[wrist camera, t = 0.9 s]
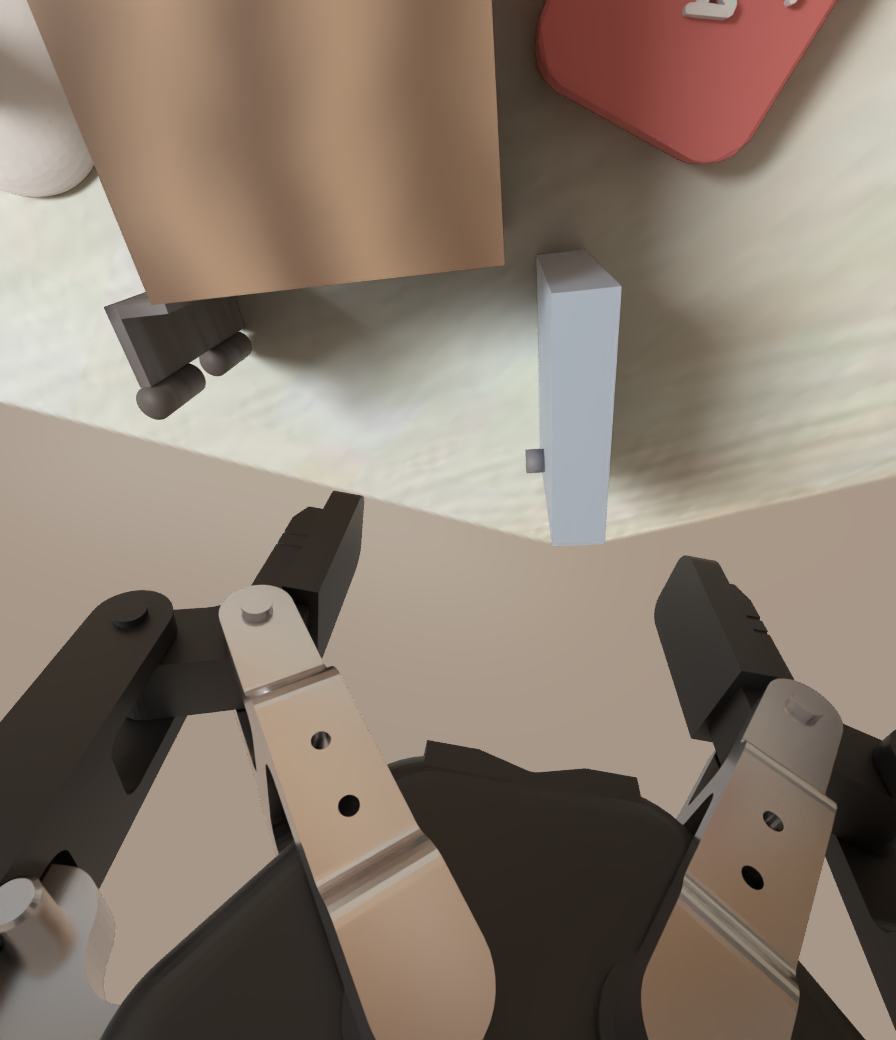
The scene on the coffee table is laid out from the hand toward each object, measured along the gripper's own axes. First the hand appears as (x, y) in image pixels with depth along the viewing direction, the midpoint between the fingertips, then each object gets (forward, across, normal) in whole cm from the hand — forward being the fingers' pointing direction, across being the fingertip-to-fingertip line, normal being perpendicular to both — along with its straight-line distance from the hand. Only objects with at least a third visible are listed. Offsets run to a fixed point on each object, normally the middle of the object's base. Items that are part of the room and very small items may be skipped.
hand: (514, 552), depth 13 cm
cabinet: (+26, +12, -6) cm, 29 cm away
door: (+26, -4, +3) cm, 27 cm away
